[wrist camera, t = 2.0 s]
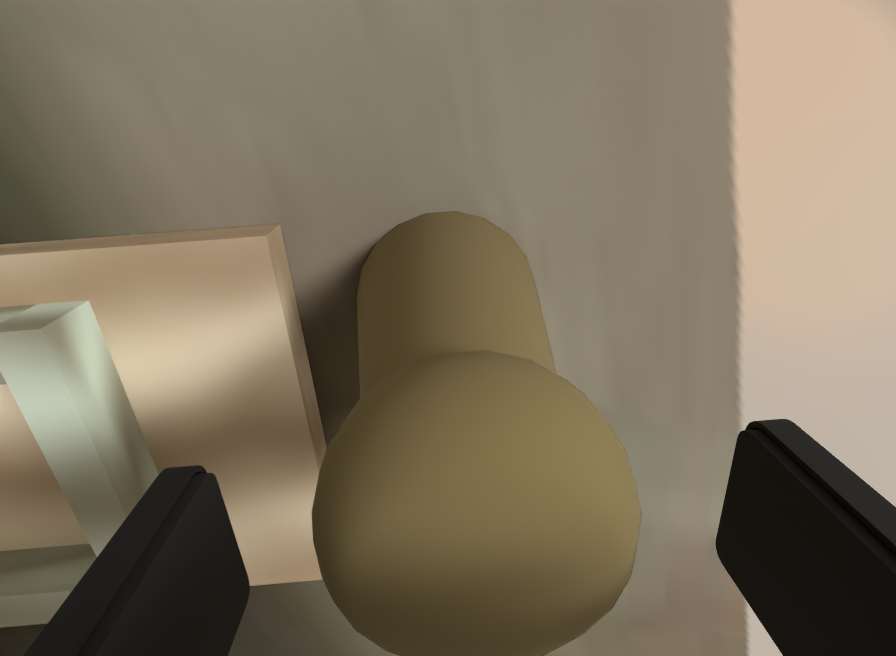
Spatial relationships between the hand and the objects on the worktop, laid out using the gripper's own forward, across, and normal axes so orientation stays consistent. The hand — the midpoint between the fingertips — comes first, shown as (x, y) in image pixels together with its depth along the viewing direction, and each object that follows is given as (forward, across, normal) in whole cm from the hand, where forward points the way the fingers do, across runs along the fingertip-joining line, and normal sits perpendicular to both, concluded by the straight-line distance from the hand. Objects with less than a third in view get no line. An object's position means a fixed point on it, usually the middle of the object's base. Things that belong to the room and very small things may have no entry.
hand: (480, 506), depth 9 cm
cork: (+9, 0, -1) cm, 9 cm away
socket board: (+9, +16, +3) cm, 19 cm away
